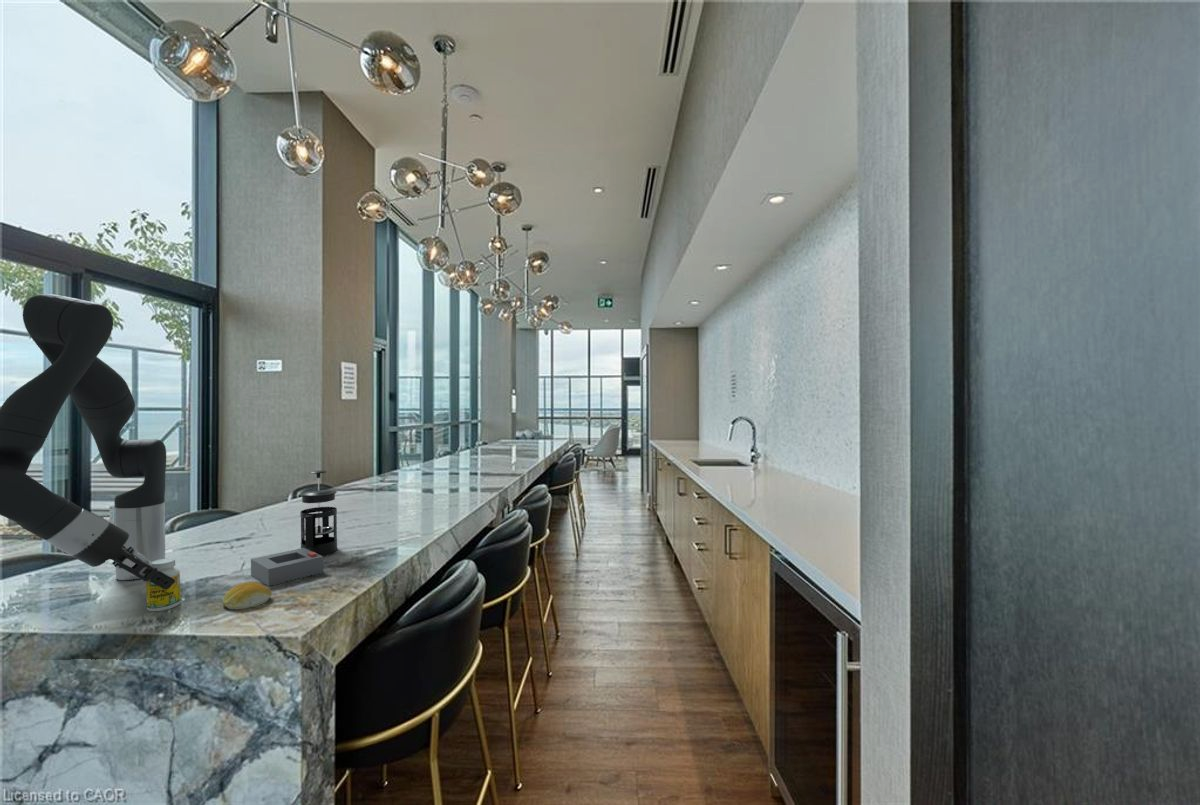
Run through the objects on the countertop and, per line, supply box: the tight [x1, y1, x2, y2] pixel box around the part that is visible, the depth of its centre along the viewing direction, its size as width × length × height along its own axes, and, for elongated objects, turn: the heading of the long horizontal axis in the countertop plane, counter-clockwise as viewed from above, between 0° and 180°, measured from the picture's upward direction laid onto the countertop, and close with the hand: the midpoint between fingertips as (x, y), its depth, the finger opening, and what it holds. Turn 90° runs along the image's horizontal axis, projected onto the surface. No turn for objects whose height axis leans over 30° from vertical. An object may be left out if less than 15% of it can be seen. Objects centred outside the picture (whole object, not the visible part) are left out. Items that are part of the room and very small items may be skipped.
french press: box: [299, 469, 339, 557], centre depth 144 cm, size 12×9×23 cm
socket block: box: [250, 547, 324, 587], centre depth 127 cm, size 12×12×5 cm
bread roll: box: [222, 581, 272, 610], centre depth 110 cm, size 8×9×4 cm
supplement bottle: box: [145, 557, 181, 612], centre depth 107 cm, size 5×5×10 cm
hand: (166, 580), depth 108 cm, fingers open, 8 cm apart
